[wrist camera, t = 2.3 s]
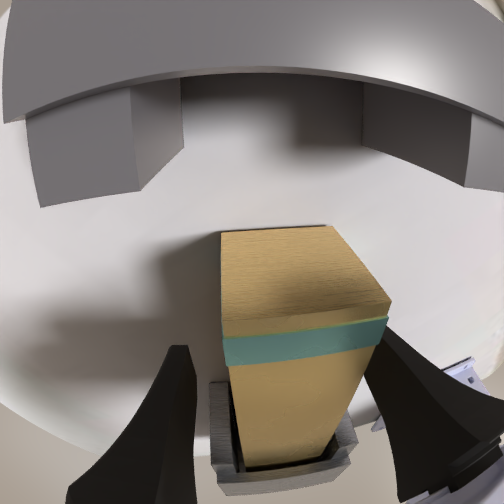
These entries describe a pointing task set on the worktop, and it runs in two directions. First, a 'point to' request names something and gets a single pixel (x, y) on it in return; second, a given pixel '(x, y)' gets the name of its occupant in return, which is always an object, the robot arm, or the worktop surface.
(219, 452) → the sleeve
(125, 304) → the worktop surface
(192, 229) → the worktop surface
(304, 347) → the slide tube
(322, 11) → the socket
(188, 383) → the robot arm
